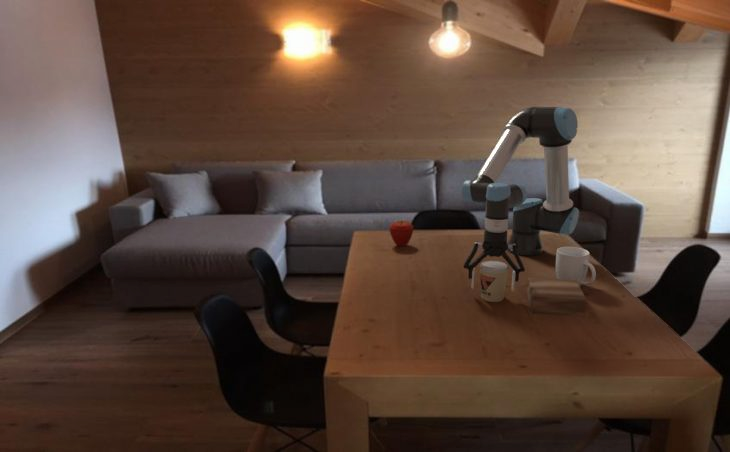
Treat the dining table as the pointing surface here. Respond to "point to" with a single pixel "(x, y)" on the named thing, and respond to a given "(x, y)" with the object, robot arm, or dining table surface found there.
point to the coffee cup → (493, 280)
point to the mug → (573, 265)
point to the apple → (401, 232)
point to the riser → (556, 297)
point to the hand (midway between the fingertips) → (492, 288)
